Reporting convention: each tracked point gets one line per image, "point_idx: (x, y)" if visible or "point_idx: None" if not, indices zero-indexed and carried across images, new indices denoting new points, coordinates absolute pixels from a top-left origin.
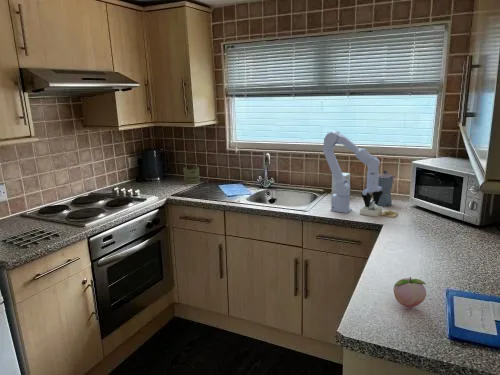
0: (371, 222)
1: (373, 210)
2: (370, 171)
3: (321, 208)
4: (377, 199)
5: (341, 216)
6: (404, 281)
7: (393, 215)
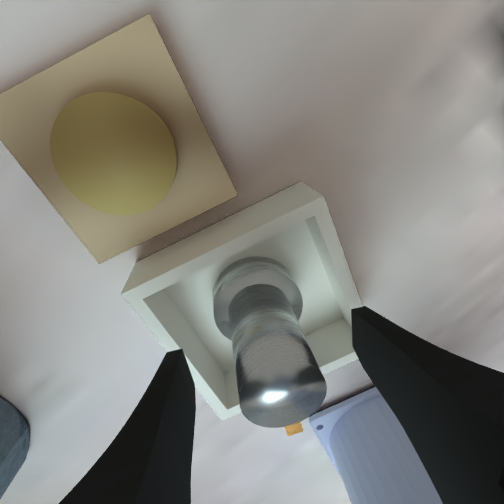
0: (486, 73)
1: (264, 284)
2: None
3: None
4: (170, 410)
5: (490, 333)
6: None
7: (135, 47)
